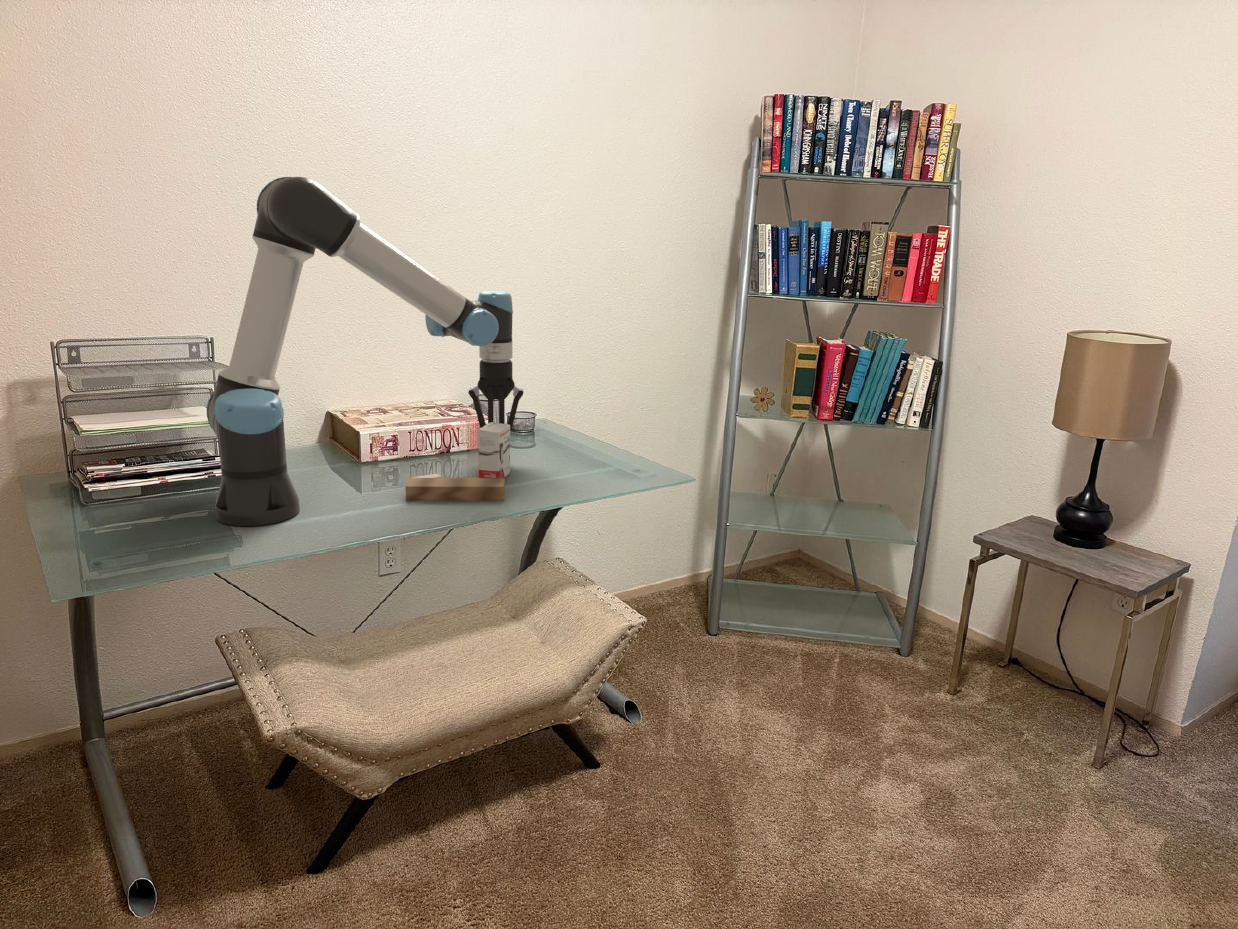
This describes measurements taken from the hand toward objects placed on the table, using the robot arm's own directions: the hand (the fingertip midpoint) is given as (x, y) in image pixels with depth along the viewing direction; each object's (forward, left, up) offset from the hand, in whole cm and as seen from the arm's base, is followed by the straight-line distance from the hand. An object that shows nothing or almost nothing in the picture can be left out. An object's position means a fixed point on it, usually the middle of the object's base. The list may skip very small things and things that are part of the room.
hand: (496, 458), depth 205 cm
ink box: (0, -10, -2) cm, 11 cm away
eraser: (-15, -16, -2) cm, 22 cm away
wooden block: (-8, -24, -1) cm, 25 cm away
